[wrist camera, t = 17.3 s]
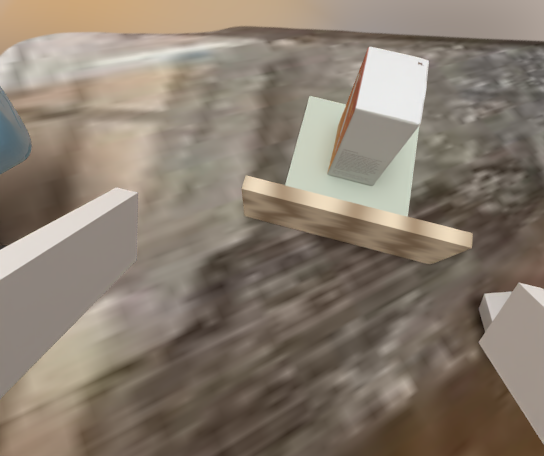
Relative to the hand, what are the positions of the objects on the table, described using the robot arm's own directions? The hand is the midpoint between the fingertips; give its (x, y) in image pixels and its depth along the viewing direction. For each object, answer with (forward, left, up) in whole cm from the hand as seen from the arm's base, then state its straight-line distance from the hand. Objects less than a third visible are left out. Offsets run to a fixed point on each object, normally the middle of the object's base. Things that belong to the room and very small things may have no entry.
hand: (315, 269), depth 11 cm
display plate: (+5, +22, -27) cm, 35 cm away
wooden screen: (+5, +11, -27) cm, 30 cm away
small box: (+5, +23, -26) cm, 35 cm away
